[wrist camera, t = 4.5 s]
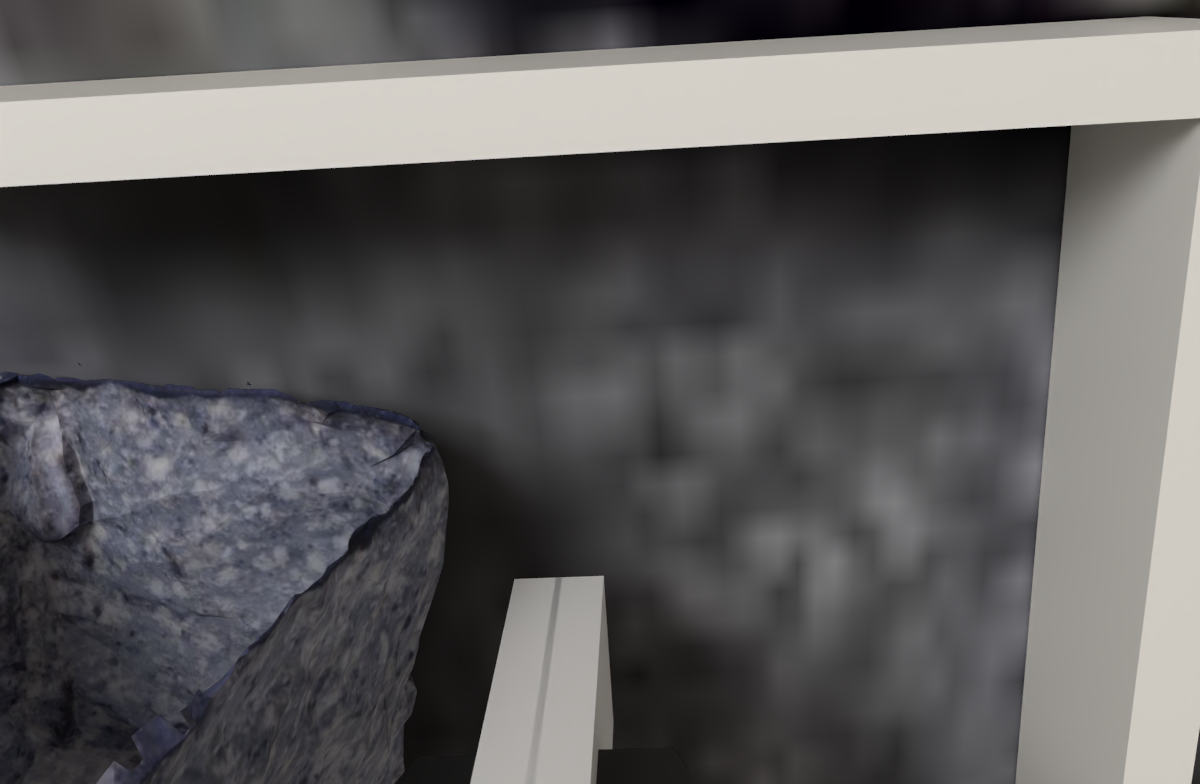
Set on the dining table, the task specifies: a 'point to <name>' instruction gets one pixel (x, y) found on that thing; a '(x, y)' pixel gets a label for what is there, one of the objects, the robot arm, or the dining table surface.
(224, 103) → the frame
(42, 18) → the dining table surface
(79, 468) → the stone
